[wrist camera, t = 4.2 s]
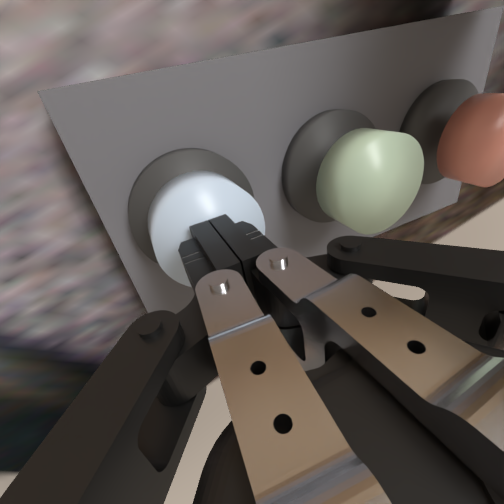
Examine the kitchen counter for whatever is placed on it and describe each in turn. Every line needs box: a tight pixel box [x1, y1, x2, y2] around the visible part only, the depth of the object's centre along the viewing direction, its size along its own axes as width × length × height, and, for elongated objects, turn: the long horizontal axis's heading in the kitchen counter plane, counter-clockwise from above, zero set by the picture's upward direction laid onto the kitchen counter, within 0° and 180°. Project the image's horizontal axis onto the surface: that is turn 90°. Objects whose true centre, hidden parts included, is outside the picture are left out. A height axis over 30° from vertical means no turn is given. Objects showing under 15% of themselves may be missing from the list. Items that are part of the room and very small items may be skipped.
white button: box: [148, 170, 265, 287], centre depth 12 cm, size 5×5×2 cm
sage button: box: [316, 128, 424, 234], centre depth 14 cm, size 5×5×2 cm
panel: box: [37, 6, 504, 314], centre depth 17 cm, size 24×12×3 cm, turn 101°
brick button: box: [437, 93, 504, 187], centre depth 16 cm, size 5×5×2 cm
